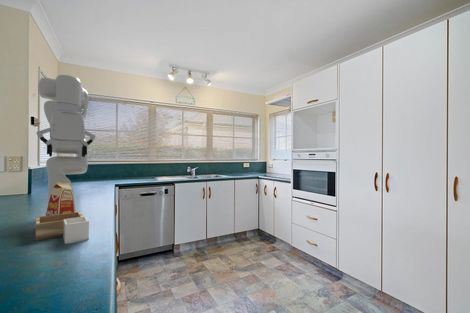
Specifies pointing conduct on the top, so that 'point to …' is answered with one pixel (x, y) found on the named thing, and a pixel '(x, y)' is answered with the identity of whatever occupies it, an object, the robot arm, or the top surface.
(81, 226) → the cream crate
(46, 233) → the pine crate
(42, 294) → the top surface
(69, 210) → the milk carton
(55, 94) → the robot arm
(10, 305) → the top surface
